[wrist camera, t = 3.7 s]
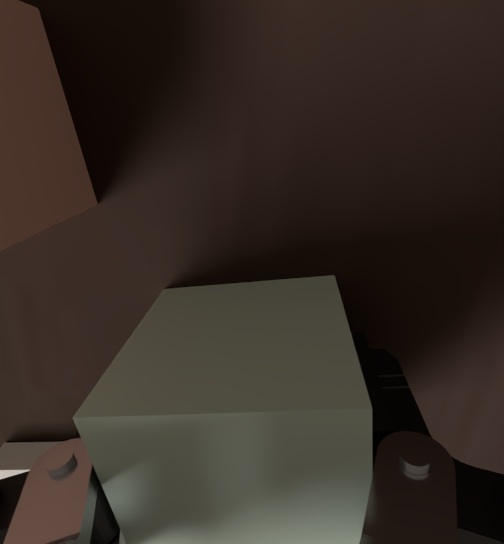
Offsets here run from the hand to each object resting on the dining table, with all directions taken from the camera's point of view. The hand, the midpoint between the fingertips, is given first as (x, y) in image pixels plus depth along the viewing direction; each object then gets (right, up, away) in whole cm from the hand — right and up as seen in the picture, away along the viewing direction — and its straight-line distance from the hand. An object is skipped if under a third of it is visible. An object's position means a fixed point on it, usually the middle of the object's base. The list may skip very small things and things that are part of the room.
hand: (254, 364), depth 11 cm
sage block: (0, 0, 0) cm, 0 cm away
